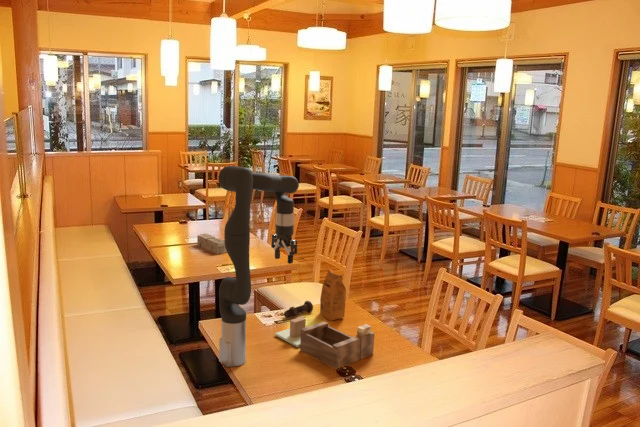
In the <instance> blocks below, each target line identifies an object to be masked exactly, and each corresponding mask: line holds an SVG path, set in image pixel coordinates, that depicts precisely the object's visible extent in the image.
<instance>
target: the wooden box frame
mask: <svg viewBox="0 0 640 427" xmlns="http://www.w3.org/2000/svg"><path fill="white" fill-rule="evenodd" d="M374 347H375V332H373V331H371V333H370V334H367V335H365V336H360V335H358V334H356V335H355V336H351V335H349V334H346V333H345V332H342V331H340V330H338V329H336V328H334V327H332V326H329V322H326V321H322V322H318V323H315V324H313V325H309V326H305V328H302V329H301V341H300V347H299V349H300V351H301V352H303V353H305V354H306V355H308V356H310V357H311V358H314V359H315V360H316V361H319V362H321V363H323V364H324V365H327V366H329V367H330V368H332V369H333V370H339V369H341V368H340V367H342V368H344V367H346V366H349V365H351V364H353V363H356V362H358V361H361V360H362V359H365V358H367V357H370V356H372V355H374V350H375V349H374ZM338 368H339V369H338Z"/></svg>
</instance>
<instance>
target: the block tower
mask: <svg viewBox="0 0 640 427" xmlns="http://www.w3.org/2000/svg"><path fill="white" fill-rule="evenodd" d="M196 239H197V246H198V247H200V248H202V249H204V250H206V251H209V252H211V253H213V252H214V253H213V254H215V253H216V255H221V254H220V253H222V254H226V253H225V252H227V251H226V248H225V243H224V240H223V239H221V238H219V237H216V236H214V235H212V234H209V233H200V234H197V238H196Z"/></svg>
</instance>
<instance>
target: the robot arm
mask: <svg viewBox="0 0 640 427" xmlns="http://www.w3.org/2000/svg"><path fill="white" fill-rule="evenodd" d="M217 179H218V184H219V185H220V187H221V188H222V189H224V190H225V191H227V192H233V193H235V204H234V208H233V210H232V212H231V214H230V215H229V218H228V219H227V221H226V223H225V225H224V230H223V231H224V234H223V235H224V238H223V239H224V243H225V248H226V251H227V254H228V257H229V259H230V260H231V263H232V265H233V267H234V272H235V277H233V276H226V277H224V278H223V279H222V280H221V282H220V285H219V289H218V301H219V306H218V307H219V313H220V316H221V331H220V332H221V335H220V336H221V337H219V339H218V346H219V347H218V348H219V350H218V362H220V363H221V364H222V365H223V366H225V367H227V368H230V367H239V366H242V365H244V364H245V363H246V358H247V357H246V353H247V352H246V351H247V350H246V349H247V348H246V347H247V312H246V310H245V309H244V308H242V307H241V306H243V305H246V304H247V303H249V300H250V298H251V294H252V280H251V269H250V268H251V267H250V243H251V242H250V241H251V229H250V226H251V225H250V224H251V222H250V220H251V206H252V205H251V204H252V194H253V190H255V191H262V192H270V193H272V192H273V193H274V199H275V201H276V215H275V229H274V230H275V231H274V232H275V233H273V234H271V246H270V247H271V248H272V249H273V250H274V258H275V260H278V259H280V258H281V249H282V248H283V249H284V250H285V251H286V252H287V264H293V263H294V255H297V254H298V240H297V239H293V235H294V230H295V229H294V225H295V224H294V223H295V216H294V210H295V209H294V208H295V202H294V200H293V199H292V198H291V197H288V195H287V194H294V193H296V192H297V191H298V189H299V187H300V184H299V181H298V179H297V178H296V177H295V176H292V175H284V174H277V173H276V174H275V173H269V172H268V173H267V172H255V171H253V172H252V170H251V169H250V168H248V167H246V166H245V167H243V166H235V165H228V166H227V165H226V166H224V167H223V168H222V169H221V170H220V171H219V173H218V178H217Z"/></svg>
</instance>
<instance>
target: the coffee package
mask: <svg viewBox="0 0 640 427" xmlns="http://www.w3.org/2000/svg"><path fill="white" fill-rule="evenodd" d="M333 272H334V271H333V270H332V269H331V268H329V269H328V270H327V273H326V275H325V278H324V280H323V283H322V286H321V291H320V292H321V294H320V299H319V300H320V306H319V307H320V308H319V314H320V315H322V316H323V318H324V319H325V320H328V321H332V322H333V321H334V320H338V319H343V318H345V313H346V298H347V297H346V295H347V289H346V286H345V285H344V282H343V280H342V278H343V275H342V274H340V273H333Z"/></svg>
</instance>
